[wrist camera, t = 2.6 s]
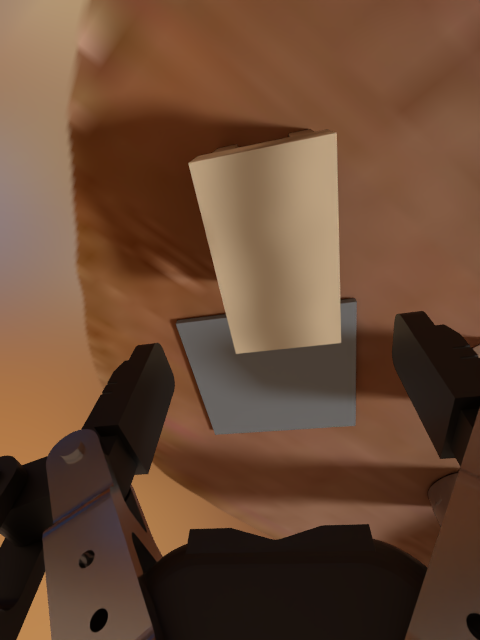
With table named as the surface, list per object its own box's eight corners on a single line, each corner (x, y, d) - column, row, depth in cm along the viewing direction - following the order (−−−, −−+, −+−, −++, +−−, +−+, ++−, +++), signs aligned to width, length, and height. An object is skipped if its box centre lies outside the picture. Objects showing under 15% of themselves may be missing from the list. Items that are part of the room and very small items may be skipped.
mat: (355, 298, 27) (356, 301, 27) (354, 421, 36) (355, 425, 36) (177, 320, 30) (175, 323, 30) (215, 430, 39) (215, 434, 38)
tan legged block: (310, 123, 21) (336, 132, 13) (319, 276, 27) (341, 343, 19) (215, 143, 22) (188, 163, 14) (244, 286, 28) (235, 353, 20)
